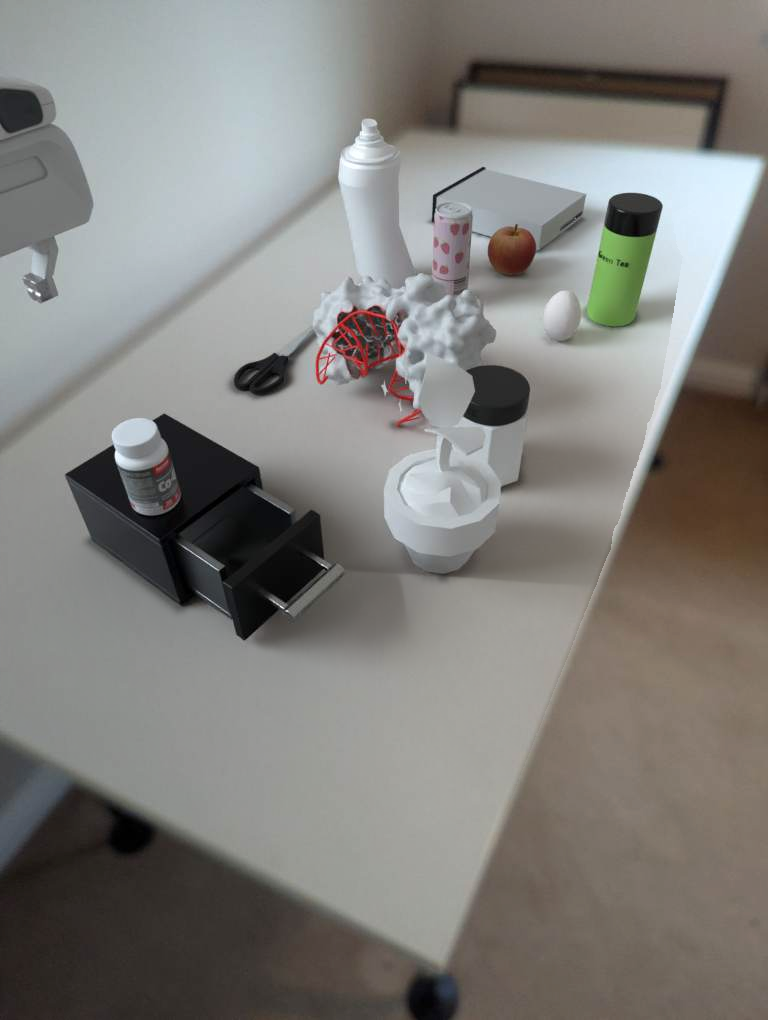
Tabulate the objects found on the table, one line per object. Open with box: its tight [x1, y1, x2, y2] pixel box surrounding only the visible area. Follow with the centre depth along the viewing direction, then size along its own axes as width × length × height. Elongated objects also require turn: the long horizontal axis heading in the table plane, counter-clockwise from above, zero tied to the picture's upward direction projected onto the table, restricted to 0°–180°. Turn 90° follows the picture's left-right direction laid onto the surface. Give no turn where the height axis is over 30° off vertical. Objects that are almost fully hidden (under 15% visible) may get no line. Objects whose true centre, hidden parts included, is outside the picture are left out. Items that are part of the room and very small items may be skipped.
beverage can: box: [431, 202, 473, 296], centre depth 111 cm, size 6×6×15 cm
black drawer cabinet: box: [64, 412, 264, 607], centre depth 77 cm, size 15×13×10 cm
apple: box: [487, 224, 537, 276], centre depth 121 cm, size 8×8×8 cm
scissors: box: [233, 324, 315, 395], centre depth 106 cm, size 7×1×20 cm
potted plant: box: [380, 349, 502, 575], centre depth 69 cm, size 13×12×25 cm
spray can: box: [337, 118, 417, 289], centre depth 112 cm, size 12×11×25 cm
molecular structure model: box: [312, 272, 497, 427], centre depth 93 cm, size 20×18×25 cm
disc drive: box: [431, 166, 587, 251], centre depth 137 cm, size 18×22×5 cm
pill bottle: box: [111, 417, 181, 516], centre depth 68 cm, size 5×5×8 cm
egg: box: [542, 289, 582, 342], centre depth 106 cm, size 5×5×8 cm
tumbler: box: [586, 192, 664, 328], centre depth 107 cm, size 8×8×17 cm
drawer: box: [169, 482, 346, 641], centre depth 72 cm, size 18×12×8 cm, turn 52°
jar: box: [451, 364, 531, 487], centre depth 84 cm, size 9×8×12 cm
